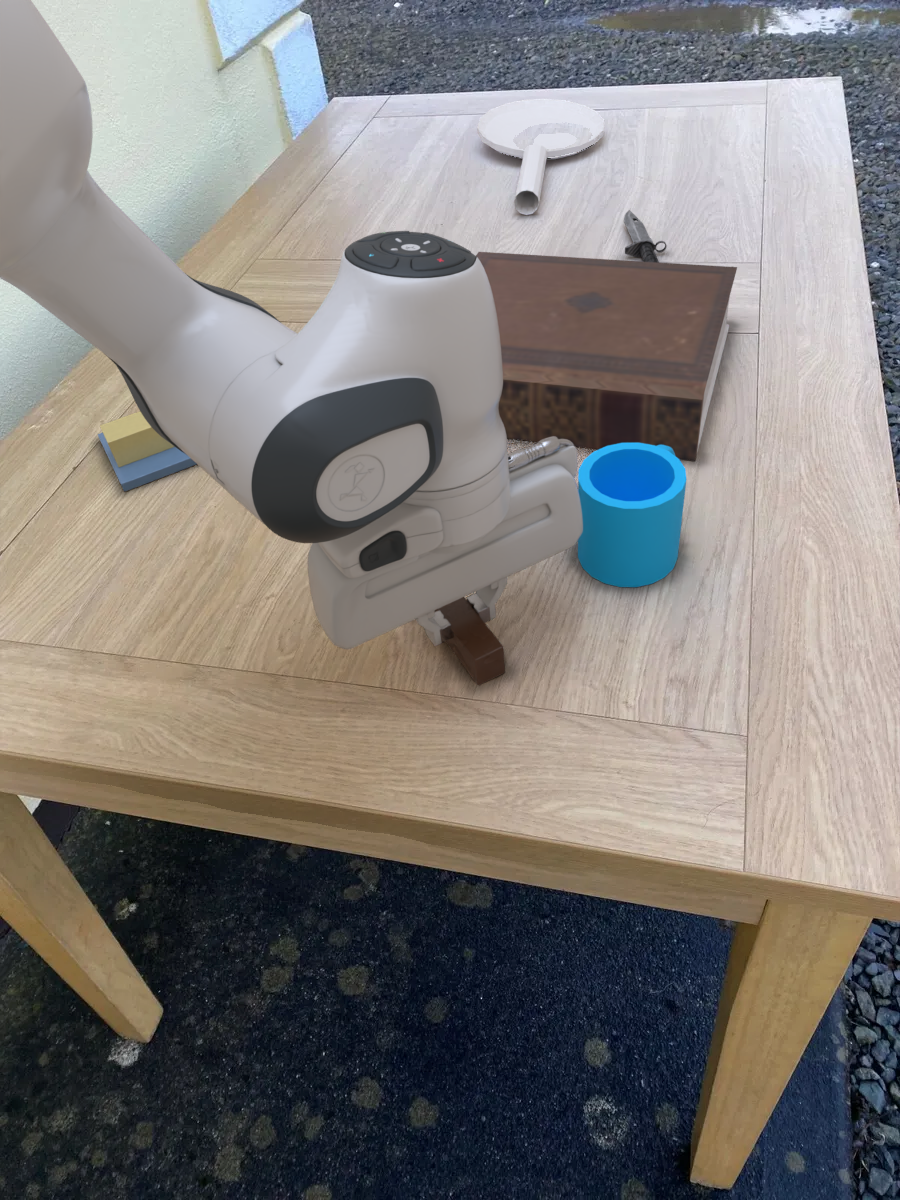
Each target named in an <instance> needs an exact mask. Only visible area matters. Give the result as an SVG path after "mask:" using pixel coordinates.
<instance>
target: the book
mask: <svg viewBox="0 0 900 1200" xmlns="http://www.w3.org/2000/svg"><path fill="white" fill-rule="evenodd" d="M475 256H477V257H478V259H479V260H480V262H481V264H482V265H483V267H484V270H485V272H486V275H487V277H488V280H489V283H490V286H491V290H492V294H493V298H494V303H495V308H496V313H497V320H498V327H499V335H500V343H501V355H502V369H503V388H502V394H501V397H500V401H499V407H498V409H499V415H500V418H501V420H502V422H503V425H504V427H505V431H506V435H507V439H510V440H518V441H527V442H535V443H537V442H539V441H540V440H542V439H545V438H548V437H552V436H556V437H557V438H558V439H567V440H570V441H571V442H572V443H573V444H574V445H575V447H576V448H583V449H592V450H599V449H601V448H603V447H605V446H609V445H614V444H619V443H644V444H650V445H655V446H657V445H666V446H669V447H671V448H672V449H673V451H674V453H675V456H676V457H677V458H678V459H679V460H680V461H690V462H696V461H697V460H696V459H697V456H698V452H699V448H700V444H701V440H702V436H703V432H704V428H705V425H706V419H707V416H708V412H709V408H710V404H711V400H712V396H713V393H714V389H715V385H716V381H717V376H718V372H719V368H720V365H721V362H722V357H723V353H724V349H725V345H726V340H727V338H728V337H727V336H728V333H729V330H730V324H728V323H727V321H728V312H729V306H730V305H729V303H730V298H731V294H732V293H731V292H732V289H733V285H734V281H735V277H736V273H737V270H738V267H737V266H724V265H722V266H721V265H709V264H707V265H705V264H692V263H691V264H690V263H689V264H688V263H674V262H660V261H659V262H643V260H642V261H641V260H627V259H624V260H623V259H610V258H609V259H608V258H592V257H590V258H589V257H574V256H556V255H541V254H540V255H539V254H527V253H526V254H524V253H509V252H489V251H478V252H477V253H476V254H475Z"/></svg>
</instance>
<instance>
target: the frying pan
mask: <svg viewBox="0 0 900 1200" xmlns="http://www.w3.org/2000/svg"><path fill="white" fill-rule="evenodd" d="M562 122H563V123H565V122H567V124H568V123H572V124H573V123H574V124H578V125H579V124H580V125H583V127H586V128H588V129H589V128H590V131H589V132H591V133H592V135H593V136H591V139H589V142H586V143H584V144H582V145H580V146H575V147H571V148H566V149H562V150H555V151H547V149H556V148H565V147H567V146H569V145H572V144H574V143H575V142H576V139H577V138H576V137H575V136H573V135H571V134H569V133H556V134H539V135H538V136H537V137H536V138H535V139H534V143H533V145H529V146H527V147H526V148H525V150H523V149H519V147H517V146H516V144H515V143H514V142H513V139H514V137H515V135H516V137H517V135H519V133H521V132H523V130H525V129H527V128H528V127H530V126H531V127H532V126H534V125H539V124H547V123H562ZM476 130H477V133H476V134H477V135H478V137H479V138H480V140H481V142H482V143H483V144H485V145H487V146H488V147H490V148H492V149H493V150H495V151H496V152H498V153H499V154H502V153H503V154H502V155H505V154H506V156H509V155H511V156H510V157H512V156H514V157H513V158H516V157H521V158H520V159H522V160H521V166H520V171H519V176H518V181H517V185H516V191H515V196H514V202H513V204H514V208H515V210H516V211H517V212H518V213H519V214H522V215H525V216H528V215H532V214H534V213H535V212H536V211H537V210H538V208H539V205H540V201H541V200H540V199H541V195H542V187H543V183H544V182H543V181H544V176H545V170H546V163H547V159H546V158H548V157H555V156H561V155H565V154H569V153H573V152H578V151H580V150H582V149H584V148H587V147H589V146H591V145H593V144H594V145H596V144H597V143H598V142H599V141H600V140H601V139H602V138H603V137H604V133H605V132H604V131H605V119H604V118H603V117H602V115H601V114H600V113H599V111H597V110H595V109H594V108H591V107H589V106H588V105H585V104H582V103H578V102H575V101H571V100H568V99H567V100H566V99H557V98H530V99H521V100H520V99H519V100H516V101H511V102H506V103H502V104H501V105H498V106H496V107H493V108H490V109H489V110H488V111H486V112H485V113H484V114H482V115H481V116H480V117H479V120H478V123H477V127H476ZM596 142H597V143H596ZM595 143H596V144H595ZM594 145H593V146H594ZM591 147H592V146H591ZM589 148H590V147H589ZM589 148H587V149H589ZM587 149H584V150H582V151H580V152H578V153H575V154H571V155H566V156H562V157H558V158H551V159H550V160H556V159H563V158H566V157H571V156H575V155H577V154H579V153H581V152H584V151H585V150H587Z"/></svg>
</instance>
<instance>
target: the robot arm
mask: <svg viewBox="0 0 900 1200" xmlns="http://www.w3.org/2000/svg"><path fill="white" fill-rule="evenodd" d="M93 133H94V131H93V113H92V105H91V99H90V95H89V90H88V86H87V82H86V81H85V79H84V77H83V75H82V74H81V72H80V71H79V69H78V67H77V66H76V64H75V63H74V62H73V60H72V58H71V57H70V55H69V54H68V52H67V50H66V49H65V47H64V46H63V45H62V43H61V41H60V40H59V38H58V37H57V36H56V34H55V33H54V31H53V29H51V27H50V25H49V24H48V22H47V21H46V19H45V18H44V17H43V15H42V14H41V13H40V11H39V10H38V8H37V7H36V5H35V4H34V2H33V1H32V0H0V280H3V281H4V282H6V283H8V284H10V285H11V286H13V287H15V288H17V289H18V290H19V291H20V292H22V293H24V294H25V295H27V297H29V298H30V299H32V300H33V301H34V302H36V303H37V304H38V305H40V306H41V307H42V308H44V309H45V310H46V311H47V312H49V313H50V314H51V315H53V316H54V317H55V318H56V319H58V320H59V321H61V322H62V323H63V324H65V325H66V326H67V327H68V328H70V329H71V330H73V331H74V332H75V333H76V334H77V335H79V336H81V337H82V338H83V339H84V340H85V341H87V342H88V343H90V345H92V346H93V347H95V348H96V349H97V350H99V351H100V352H101V353H103V354H104V355H105V356H106V357H107V358H108V359H109V360H110V361H111V362H112V363H113V364H114V365H115V367H116V368H117V369H118V371H119V373H120V375H121V376H122V378H123V380H124V382H125V384H126V386H127V387H128V391H130V394H131V396H132V398H133V400H134V402H135V404H136V406H137V408H138V410H139V411H141V413H142V415H143V416H144V418H145V419H146V421H147V422H148V423H149V425H150V426H151V427H152V428H153V429H154V430H155V431H156V432H157V433H158V434H159V435H160V436H161V437H163V438H164V439H165V440H167V441H168V442H169V443H171V444H172V445H173V446H175V447H176V448H177V449H179V450H180V451H182V452H183V453H185V454H186V455H188V456H189V457H190V458H191V459H192V460H193V461H194V462H195V463H196V464H197V465H198V466H199V467H200V469H202V470H203V471H204V472H205V473H206V474H207V475H208V476H209V477H211V479H212V480H214V481H215V482H216V483H217V484H218V485H219V486H221V487H222V489H224V490H225V491H226V492H227V493H228V494H229V495H230V496H231V497H232V498H233V499H235V500H236V501H237V502H238V503H239V504H240V505H241V506H242V507H243V508H244V509H245V510H247V511H248V512H249V513H250V514H251V515H253V516H254V517H255V518H256V519H257V520H258V521H259V522H260V523H262V524H263V525H265V526H266V527H267V529H269V530H270V531H271V532H272V533H273V534H275V535H277V536H279V537H280V538H283V539H285V540H287V541H291V542H294V543H300V544H311V545H310V547H309V550H308V554H307V574H308V575H307V576H308V583H309V585H308V586H309V589H310V590H309V591H310V597H311V601H312V605H313V609H314V614H315V616H316V619H317V621H318V623H319V625H320V627H321V629H322V630H323V632H324V634H325V635H326V636H327V637H326V638H328V640H329V641H330V642H331V644H332V645H333V646H336V647H337V648H339V649H343V650H347V651H349V650H352V649H355V648H356V647H359V646H361V645H363V644H365V643H367V642H369V641H372V640H374V639H376V638H378V637H380V636H382V635H384V634H387V633H389V632H391V631H393V630H395V629H397V628H400V627H401V626H404V625H407V624H408V623H411V622H413V621H416V623H417V625H419V626H421V627H422V628H424V632H425V634H426V636H427V638H428V639H429V641H430V642H431V643H432V644H433V646H434V647H437V646H439V645H442V644H443V643H446V642H445V641H447V640H449V639H451V638H452V634H451V624H450V623H449V621H448V620H447V619H445V618H444V615H443V614H442V612H441V611H440V610H439V611H437V612H435V610H437V609H439V608H441V607H443V606H445V605H447V604H450V603H452V602H454V601H456V600H458V599H460V598H463V597H465V598H466V600H467V601H468V603H469V604H470V605H471V606H472V608H473V609H474V610H475V612H476V613H477V614H478V615H479V616H480V618H481V619H482V620H483V621H484V623H485V624H486V623H487V622H490V621H491V620H494V619H496V618H497V611H496V604H497V603H498V601H499V600H500V598H501V595H502V594H503V592H504V591H505V589H506V586H507V585H508V577H510V576H512V575H515V574H517V573H519V572H521V571H523V570H525V569H528V568H530V567H532V566H534V565H536V564H538V563H540V562H543V561H545V560H547V559H549V558H551V557H553V556H556V555H558V554H560V553H562V552H564V551H566V550H569V549H571V548H573V547H574V546H575V545H576V544H577V543H578V539H579V538H580V536H581V534H582V532H583V518H582V509H581V502H580V497H579V492H578V484H577V482H576V480H575V477H576V475H577V473H578V450H577V447H575V445H574V444H573V443H572V442H571V441H570V440H567V439H558V438H557V437H556V436H552V437H548V438H545V439H542V440H540V441H539V442H535V443H534V444H532V445H530V446H525V447H522V448H518V449H516V450H513V451H511V452H509V448H508V438H507V435H506V431H505V427H504V425H503V422H502V420H501V418H500V415H499V409H498V407H499V401H500V397H501V394H502V388H503V369H502V355H501V343H500V335H499V327H498V320H497V313H496V308H495V303H494V298H493V294H492V290H491V286H490V283H489V280H488V277H487V275H486V272H485V270H484V267H483V265H482V264H481V262H480V260H479V259H478V257H477V256H476V254H474V253H472V251H471V250H469V249H467V248H466V247H464V246H463V245H460V244H459V243H456V242H454V241H452V240H450V239H447V238H445V237H441V236H439V235H437V234H433V233H430V232H419V231H410V230H395V231H383V232H378V233H372V234H369V235H366V236H363V237H362V238H360V239H357V240H355V241H353V242H352V243H350V244H349V245H347V246H346V248H345V249H344V250H343V252H342V255H341V258H340V263H339V267H338V272H337V275H336V278H335V281H334V282H333V285H332V286H331V288H330V289H329V291H328V293H327V295H326V296H325V298H324V299H323V301H322V303H320V306H319V307H318V308H317V310H316V311H315V313H314V314H313V315H312V317H311V318H310V319H309V320H308V321H307V323H305V325H304V326H303V327H302V328H301V329H300V330H299V332H296V331H294V330H293V329H291V328H290V327H288V326H286V325H285V324H284V323H282V322H281V321H280V320H279V319H278V318H276V317H275V316H274V315H273V314H272V313H271V312H269V311H268V310H266V309H265V308H264V307H262V306H261V305H260V304H258V303H257V302H255V301H254V300H252V299H251V298H249V297H247V296H245V295H242V294H240V293H238V292H235V291H233V290H230V289H226V288H223V287H220V286H216V285H212V284H209V283H206V282H203V281H199V280H197V279H195V278H193V277H191V276H190V275H189V274H187V273H186V272H184V271H183V270H182V269H181V268H180V267H179V265H177V264H176V263H175V262H174V261H173V260H172V259H171V258H170V257H169V256H168V254H166V252H164V251H163V249H161V248H160V247H159V246H158V245H157V243H155V242H154V240H152V238H150V237H149V236H148V235H147V234H146V233H145V231H144V230H142V228H141V227H139V226H138V225H137V224H136V223H135V222H134V221H133V220H132V219H131V218H130V217H129V216H128V214H126V213H125V212H124V211H123V210H122V209H121V208H120V207H119V206H118V205H117V204H116V203H115V201H113V200H112V199H111V198H110V196H108V195H107V194H106V193H105V191H104V190H103V188H101V186H100V185H99V184H98V182H96V180H95V179H94V178H93V177H92V175H91V174H90V172H89V171H88V168H89V166H90V160H91V155H92V147H93Z"/></svg>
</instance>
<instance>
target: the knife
mask: <svg viewBox="0 0 900 1200" xmlns="http://www.w3.org/2000/svg"><path fill="white" fill-rule="evenodd" d="M623 222H624V224H625V227H626V229H627V232H628V234H629V236H630V239H631V241H632V243H631V244H629V245H627V246H625V247H624V254H625V255H627V256H630V257H635V258H642V262H659V263H660V260H659V259H658V256H657V254H656V252H657V253H663V252H665V251H666V250H667V246H668V245H667V243H666V242H665V241H664V240H659V241H657V242H656V243H654V242H653V240H652V238H651V237H650V235H649V232H648V231H647V228H646V226H645V225H644V222H642V221H641V219H639V217H637V216H636V215H635V214H634V213H633V211H631V209H628V210H627V211H626V212H625V214H624V216H623ZM660 244H664V247H663V248H661V249H657V246H658V245H660Z"/></svg>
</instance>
